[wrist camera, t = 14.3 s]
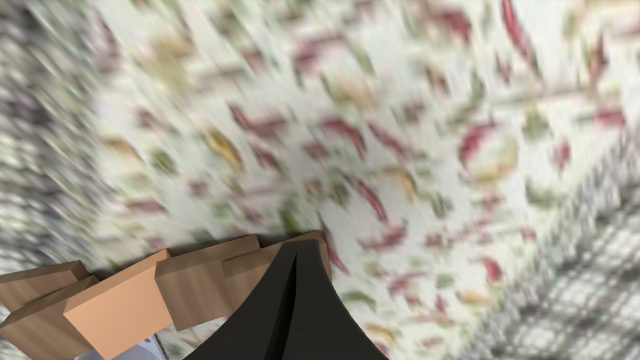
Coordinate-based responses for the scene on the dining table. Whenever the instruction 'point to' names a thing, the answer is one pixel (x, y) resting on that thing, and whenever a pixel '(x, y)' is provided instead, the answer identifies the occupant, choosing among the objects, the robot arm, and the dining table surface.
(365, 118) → the dining table surface
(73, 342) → the domino
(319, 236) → the domino
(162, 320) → the domino
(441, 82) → the dining table surface
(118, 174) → the dining table surface
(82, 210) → the dining table surface
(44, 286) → the domino
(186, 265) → the domino
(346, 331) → the robot arm
